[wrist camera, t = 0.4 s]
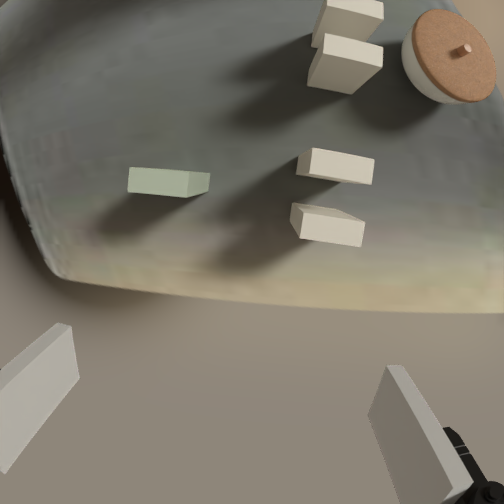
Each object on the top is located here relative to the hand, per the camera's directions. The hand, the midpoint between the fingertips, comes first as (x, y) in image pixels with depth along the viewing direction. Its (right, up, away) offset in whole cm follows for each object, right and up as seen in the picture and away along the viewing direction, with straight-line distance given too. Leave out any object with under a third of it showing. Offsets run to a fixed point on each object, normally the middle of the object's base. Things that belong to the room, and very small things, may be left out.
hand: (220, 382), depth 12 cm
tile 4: (+8, +14, +21) cm, 27 cm away
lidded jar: (+22, +27, +18) cm, 39 cm away
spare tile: (-6, +13, +22) cm, 26 cm away
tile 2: (+10, +24, +19) cm, 32 cm away
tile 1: (+10, +28, +18) cm, 35 cm away
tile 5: (+8, +9, +22) cm, 25 cm away
